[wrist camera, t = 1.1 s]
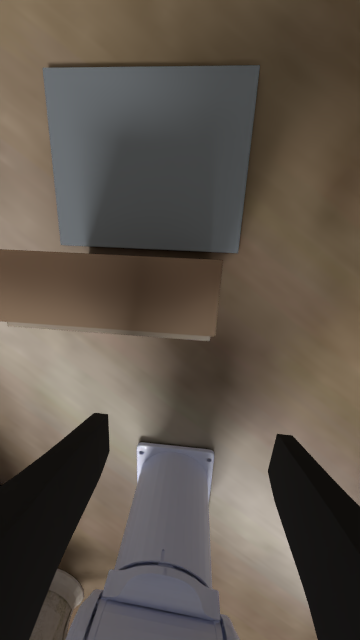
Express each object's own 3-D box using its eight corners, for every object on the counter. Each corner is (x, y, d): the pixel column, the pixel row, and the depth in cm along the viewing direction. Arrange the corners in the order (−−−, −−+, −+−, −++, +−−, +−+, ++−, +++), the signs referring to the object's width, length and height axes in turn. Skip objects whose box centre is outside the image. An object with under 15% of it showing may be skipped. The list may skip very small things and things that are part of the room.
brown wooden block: (206, 302, 18) (214, 343, 9) (92, 295, 19) (0, 327, 10) (210, 259, 17) (222, 260, 8) (89, 254, 18) (-16, 248, 9)
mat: (236, 253, 17) (238, 253, 16) (64, 245, 17) (60, 244, 17) (257, 72, 14) (259, 65, 13) (47, 74, 14) (42, 67, 14)
